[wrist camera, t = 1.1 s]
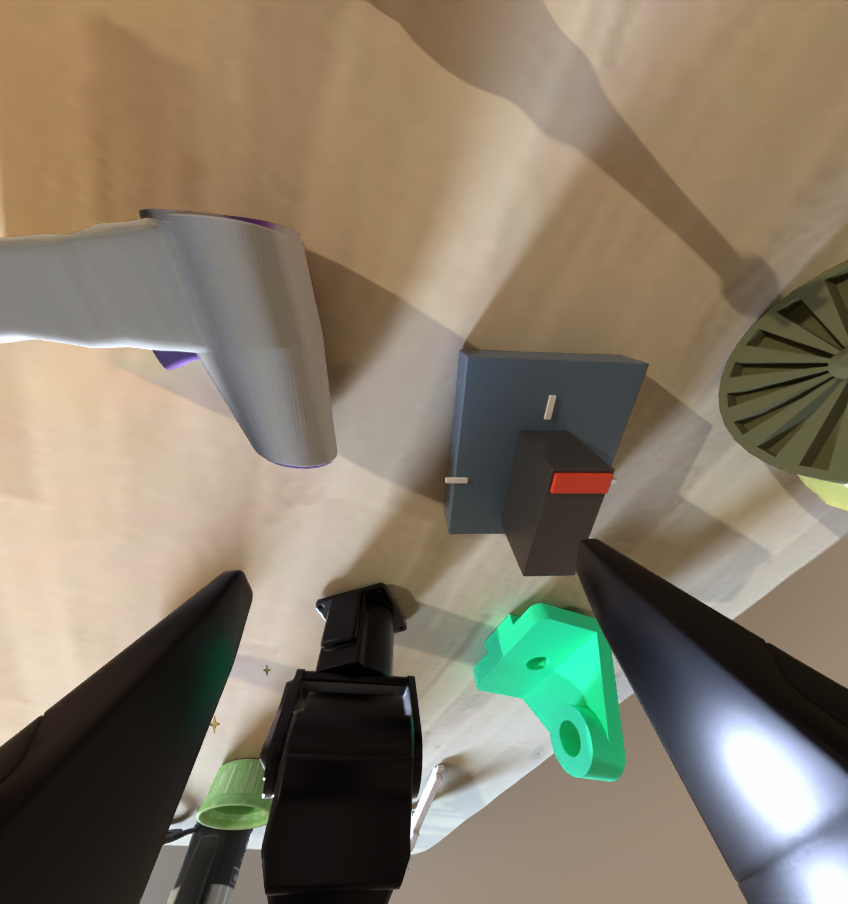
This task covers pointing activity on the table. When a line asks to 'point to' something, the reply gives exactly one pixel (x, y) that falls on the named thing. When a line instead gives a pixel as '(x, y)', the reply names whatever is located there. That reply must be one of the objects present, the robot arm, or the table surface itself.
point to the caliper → (425, 804)
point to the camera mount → (560, 685)
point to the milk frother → (208, 864)
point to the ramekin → (236, 797)
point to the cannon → (796, 386)
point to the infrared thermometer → (188, 313)
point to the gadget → (552, 500)
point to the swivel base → (528, 420)
